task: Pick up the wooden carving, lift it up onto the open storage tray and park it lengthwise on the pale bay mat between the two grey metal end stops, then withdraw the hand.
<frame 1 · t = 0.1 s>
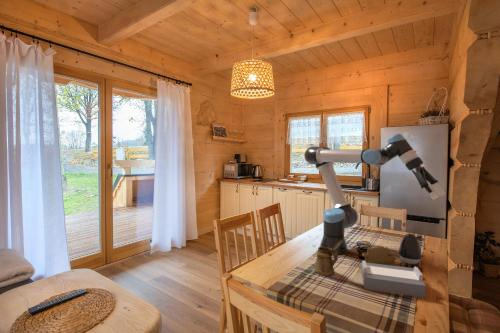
hand: (439, 196, 126), 36 cm above the table, tool tilted 35°, fingers open, 13 cm apart
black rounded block: (409, 262, 136), on the table
open storage tray: (390, 283, 114), on the table
wooden carving: (378, 264, 134), on the table
wooden mug: (328, 273, 124), on the table
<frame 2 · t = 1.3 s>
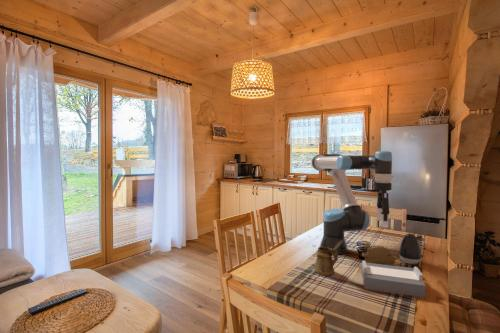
hand: (382, 224, 132), 21 cm above the table, tool pointing down, fingers open, 13 cm apart
nothing on the table moved.
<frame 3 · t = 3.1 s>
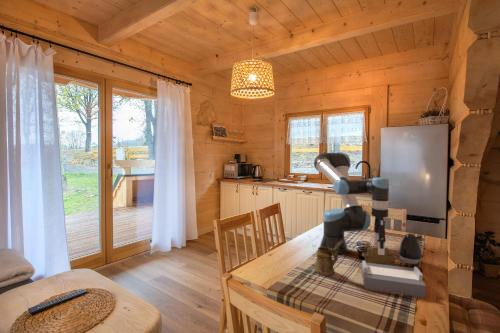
hand: (379, 249, 133), 8 cm above the table, tool pointing down, fingers open, 13 cm apart
nothing on the table moved.
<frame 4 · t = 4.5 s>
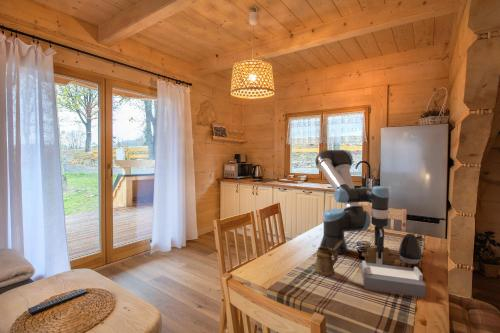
hand: (378, 262, 134), 1 cm above the table, tool pointing down, fingers closed on wooden carving, 4 cm apart
wooden carving: (378, 264, 134), on the table, touching gripper
everything else where it was.
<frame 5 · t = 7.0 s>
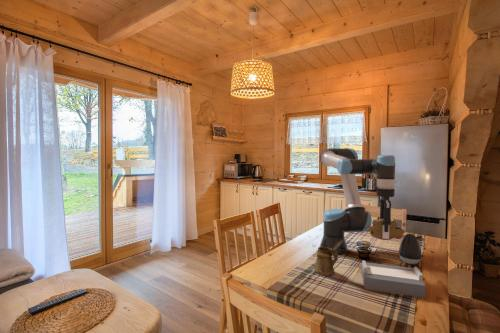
hand: (384, 236, 124), 17 cm above the table, tool pointing down, fingers closed on wooden carving, 4 cm apart
wooden carving: (384, 239, 124), point 16 cm above the table, touching gripper
everything else where it was.
when the fingers open (7 cm above the table, at t = 9.5 s): wooden carving stays where it is, resting on open storage tray.
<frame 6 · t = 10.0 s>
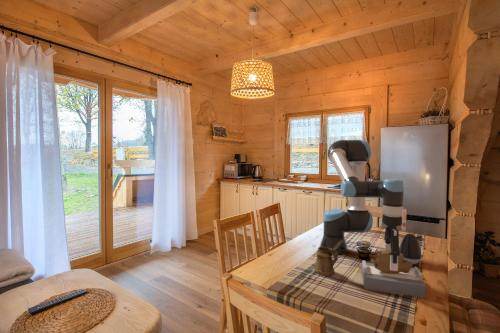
hand: (390, 263, 114), 9 cm above the table, tool pointing down, fingers open, 12 cm apart
wooden carving: (390, 273, 114), point 5 cm above the table, touching open storage tray
everything else where it was.
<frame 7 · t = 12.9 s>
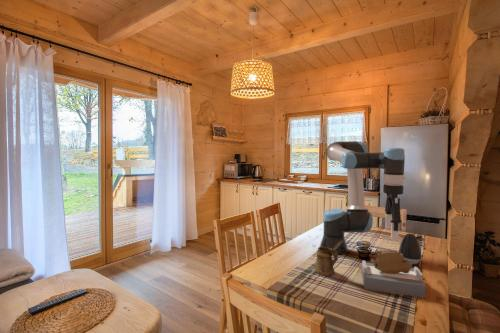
hand: (391, 233, 113), 22 cm above the table, tool pointing down, fingers open, 13 cm apart
nothing on the table moved.
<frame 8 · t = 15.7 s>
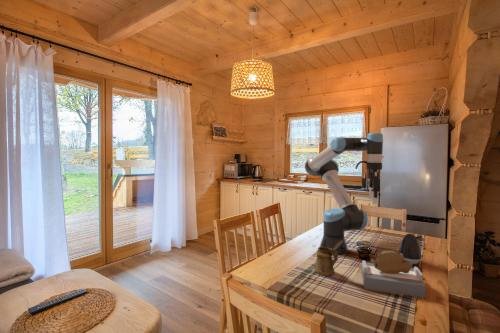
hand: (373, 201, 141), 31 cm above the table, tool pointing down, fingers open, 13 cm apart
nothing on the table moved.
at the end: wooden carving inside the target area on the open storage tray (0.4 cm from its centre), point 5.0 cm above the open storage tray's base; wooden carving tilted 0°; the gripper is holding nothing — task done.
